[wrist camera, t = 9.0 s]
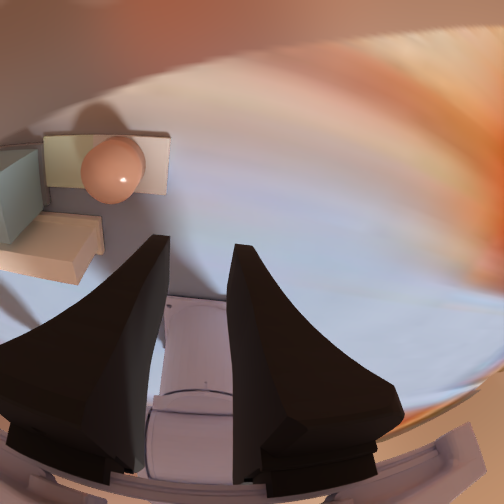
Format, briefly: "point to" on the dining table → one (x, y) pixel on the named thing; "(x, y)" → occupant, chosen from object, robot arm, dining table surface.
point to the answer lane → (77, 146)
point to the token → (113, 169)
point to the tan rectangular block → (55, 247)
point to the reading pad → (41, 162)
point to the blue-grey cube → (18, 192)
